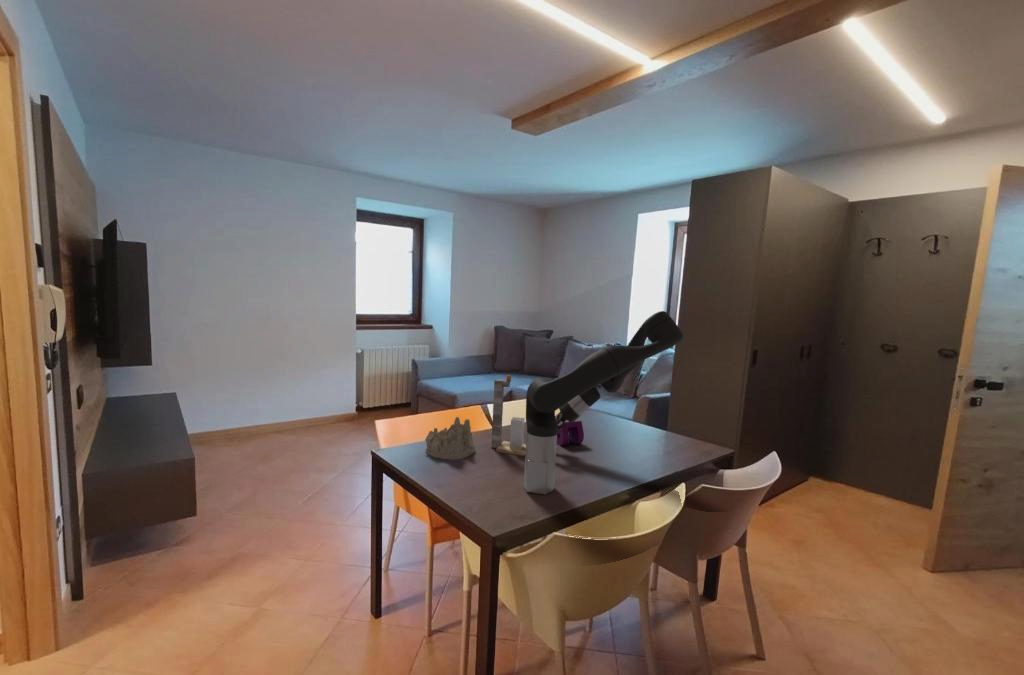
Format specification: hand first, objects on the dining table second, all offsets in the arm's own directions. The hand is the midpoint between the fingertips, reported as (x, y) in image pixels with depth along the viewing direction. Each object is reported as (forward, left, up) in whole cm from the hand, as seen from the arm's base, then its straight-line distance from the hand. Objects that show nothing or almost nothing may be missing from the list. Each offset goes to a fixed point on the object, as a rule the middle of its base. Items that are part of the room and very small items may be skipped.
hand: (542, 434), depth 165 cm
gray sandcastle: (-13, +31, -7) cm, 35 cm away
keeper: (-1, +12, -7) cm, 14 cm away
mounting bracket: (+18, -5, -7) cm, 20 cm away
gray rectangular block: (-1, +10, -6) cm, 11 cm away
